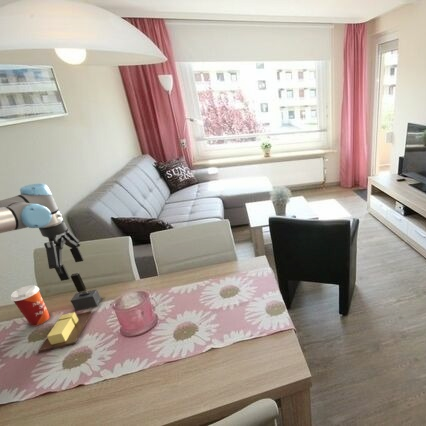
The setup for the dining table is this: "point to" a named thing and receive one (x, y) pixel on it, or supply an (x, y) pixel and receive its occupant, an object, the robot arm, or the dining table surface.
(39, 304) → the coffee cup
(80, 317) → the butter board
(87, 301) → the dark grey block
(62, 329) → the butter stick
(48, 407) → the dining table surface
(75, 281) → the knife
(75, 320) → the butter pat
